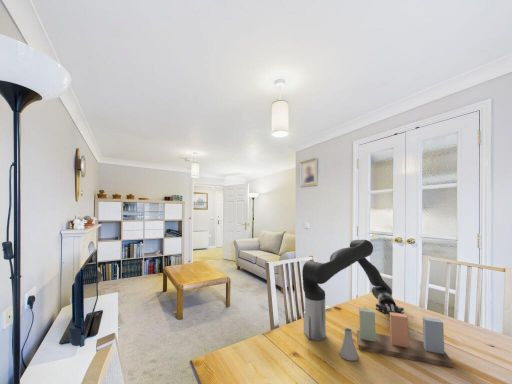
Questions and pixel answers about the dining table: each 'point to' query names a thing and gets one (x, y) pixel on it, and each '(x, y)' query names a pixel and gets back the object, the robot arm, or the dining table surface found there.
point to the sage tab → (367, 324)
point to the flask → (348, 347)
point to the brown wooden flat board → (403, 350)
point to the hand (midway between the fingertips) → (393, 316)
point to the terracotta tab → (399, 329)
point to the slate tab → (433, 335)
